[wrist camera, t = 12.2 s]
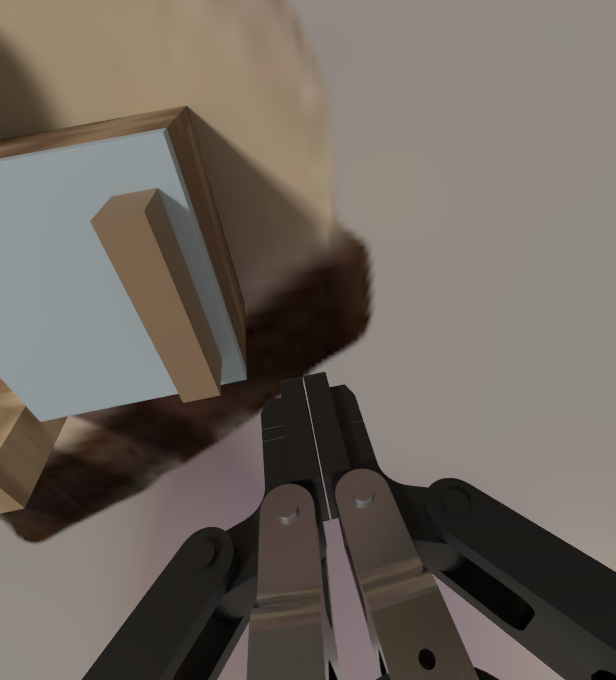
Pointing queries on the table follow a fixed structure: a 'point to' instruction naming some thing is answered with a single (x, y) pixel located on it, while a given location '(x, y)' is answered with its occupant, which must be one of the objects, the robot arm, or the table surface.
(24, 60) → the table surface
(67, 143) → the chest
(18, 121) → the table surface
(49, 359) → the lid
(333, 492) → the robot arm
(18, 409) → the tan tall block
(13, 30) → the table surface
